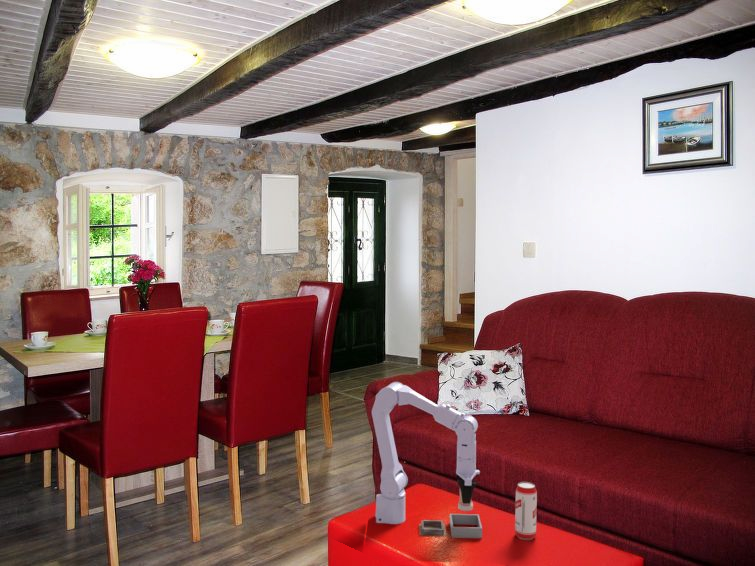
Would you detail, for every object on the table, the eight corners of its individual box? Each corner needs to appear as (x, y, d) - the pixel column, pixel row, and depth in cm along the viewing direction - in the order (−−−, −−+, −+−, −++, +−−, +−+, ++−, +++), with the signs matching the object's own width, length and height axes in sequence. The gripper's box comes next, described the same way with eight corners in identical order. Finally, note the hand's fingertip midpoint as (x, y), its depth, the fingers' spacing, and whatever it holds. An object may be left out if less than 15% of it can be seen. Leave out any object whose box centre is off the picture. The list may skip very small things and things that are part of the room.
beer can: (534, 532, 205) (535, 481, 204) (537, 541, 199) (538, 489, 198) (513, 531, 206) (514, 480, 204) (516, 540, 199) (516, 488, 198)
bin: (451, 540, 199) (451, 527, 199) (449, 526, 209) (449, 513, 209) (482, 541, 199) (482, 528, 198) (478, 527, 209) (478, 514, 208)
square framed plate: (419, 538, 201) (419, 530, 200) (419, 526, 209) (419, 519, 208) (446, 539, 200) (446, 530, 200) (444, 527, 208) (445, 519, 208)
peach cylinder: (473, 511, 201) (473, 485, 201) (458, 510, 201) (458, 485, 201) (472, 505, 206) (472, 479, 205) (457, 505, 206) (457, 479, 205)
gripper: (482, 464, 195) (481, 510, 196) (477, 449, 209) (476, 491, 210) (458, 464, 195) (457, 509, 196) (454, 448, 210) (454, 491, 211)
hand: (465, 500), depth 203 cm, fingers closed on peach cylinder, 4 cm apart
